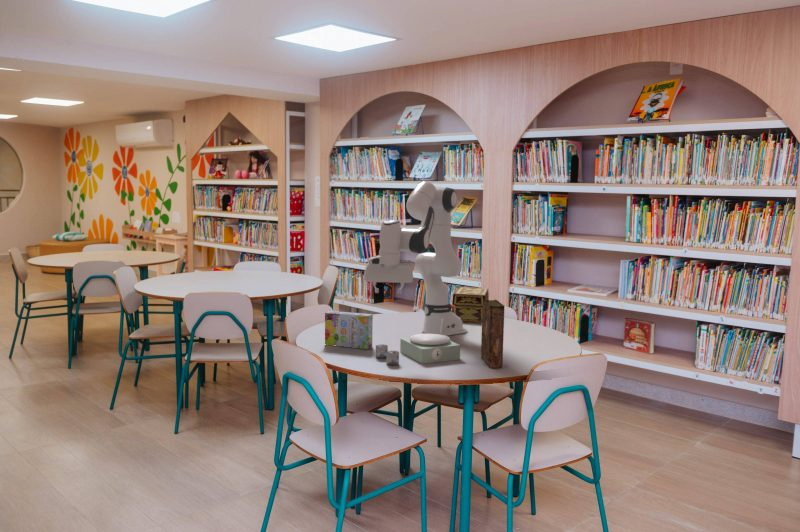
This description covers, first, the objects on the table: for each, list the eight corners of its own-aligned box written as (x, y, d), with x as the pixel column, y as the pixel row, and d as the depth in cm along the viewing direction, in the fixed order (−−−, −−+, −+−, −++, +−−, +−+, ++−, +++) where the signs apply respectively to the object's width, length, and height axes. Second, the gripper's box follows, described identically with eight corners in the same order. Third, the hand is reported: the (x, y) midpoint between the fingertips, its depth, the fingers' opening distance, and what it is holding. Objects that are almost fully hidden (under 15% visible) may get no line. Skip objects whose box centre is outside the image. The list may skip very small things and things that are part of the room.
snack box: (372, 347, 284) (373, 313, 283) (368, 350, 279) (368, 316, 277) (329, 342, 291) (329, 310, 289) (324, 345, 286) (324, 312, 284)
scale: (436, 348, 284) (437, 331, 283) (460, 359, 265) (461, 342, 264) (400, 351, 276) (400, 334, 275) (422, 364, 258) (422, 346, 257)
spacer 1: (384, 355, 270) (384, 343, 270) (389, 358, 266) (389, 346, 265) (373, 356, 268) (373, 344, 268) (378, 359, 264) (378, 347, 263)
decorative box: (456, 312, 368) (457, 286, 366) (489, 313, 364) (490, 287, 363) (450, 321, 341) (451, 293, 340) (485, 323, 338) (486, 295, 336)
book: (503, 368, 253) (505, 306, 250) (489, 368, 253) (491, 306, 250) (493, 357, 269) (495, 299, 266) (480, 357, 269) (482, 299, 266)
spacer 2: (395, 362, 261) (395, 349, 260) (400, 365, 256) (401, 352, 256) (384, 363, 258) (384, 351, 258) (389, 366, 254) (389, 354, 253)
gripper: (413, 259, 268) (412, 292, 270) (364, 258, 266) (363, 291, 268) (415, 261, 262) (413, 294, 264) (365, 259, 260) (364, 293, 261)
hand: (388, 293), depth 266 cm, fingers open, 8 cm apart
